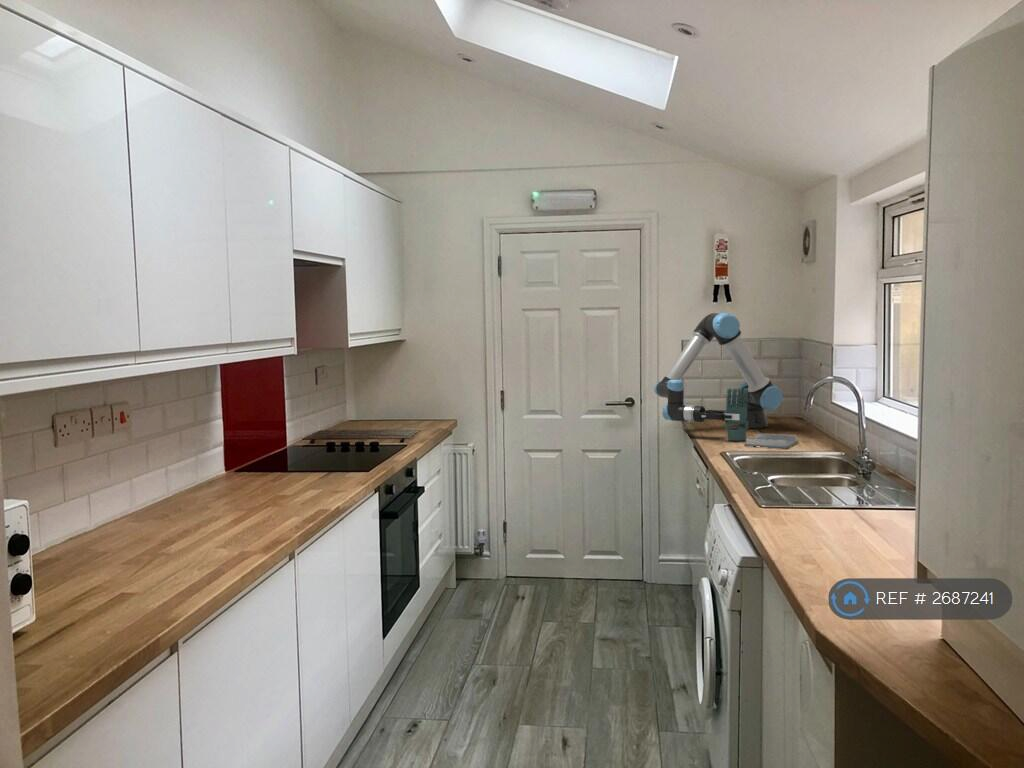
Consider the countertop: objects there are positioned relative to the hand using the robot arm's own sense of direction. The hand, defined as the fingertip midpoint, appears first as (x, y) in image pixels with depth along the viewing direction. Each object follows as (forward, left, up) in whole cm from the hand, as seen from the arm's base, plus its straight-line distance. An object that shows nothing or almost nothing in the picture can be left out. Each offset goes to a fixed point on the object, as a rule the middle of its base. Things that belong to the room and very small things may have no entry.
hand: (742, 416), depth 365 cm
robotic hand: (0, -5, -11) cm, 12 cm away
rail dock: (+4, +14, -12) cm, 19 cm away
